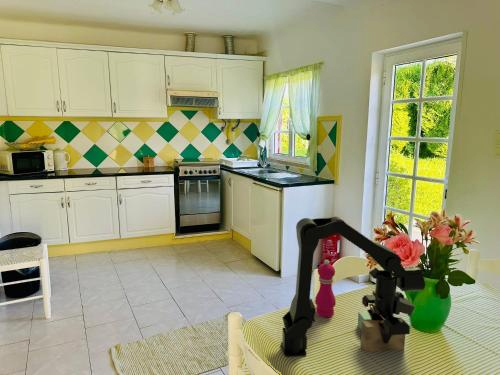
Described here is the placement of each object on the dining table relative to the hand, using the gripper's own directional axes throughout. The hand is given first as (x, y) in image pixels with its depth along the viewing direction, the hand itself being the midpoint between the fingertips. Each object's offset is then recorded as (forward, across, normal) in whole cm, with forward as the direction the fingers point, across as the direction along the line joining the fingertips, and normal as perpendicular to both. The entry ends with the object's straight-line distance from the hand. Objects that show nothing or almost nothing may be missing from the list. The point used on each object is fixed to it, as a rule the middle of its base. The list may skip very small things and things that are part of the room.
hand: (382, 339), depth 105 cm
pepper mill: (+3, +22, +11) cm, 24 cm away
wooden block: (+3, 0, 0) cm, 3 cm away
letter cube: (+3, +10, 0) cm, 10 cm away
